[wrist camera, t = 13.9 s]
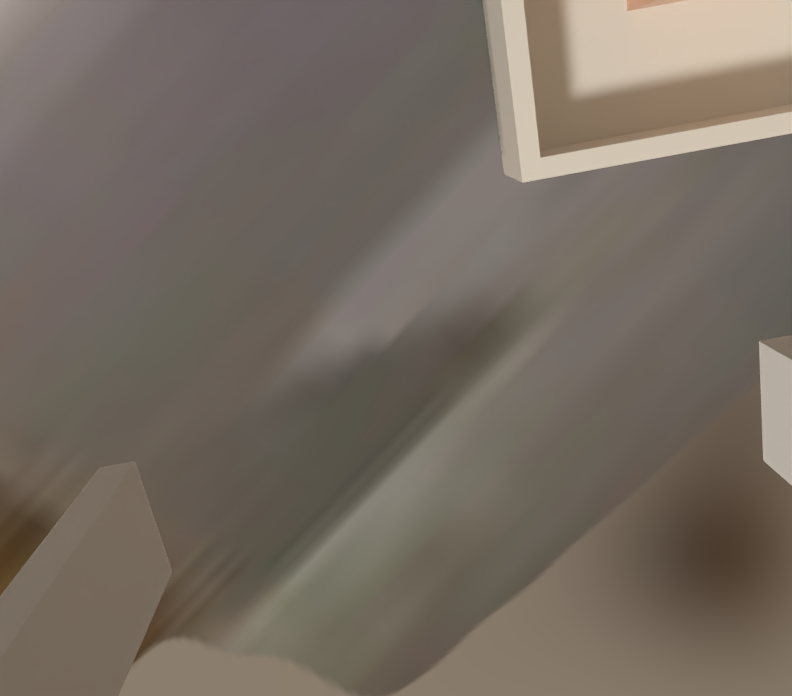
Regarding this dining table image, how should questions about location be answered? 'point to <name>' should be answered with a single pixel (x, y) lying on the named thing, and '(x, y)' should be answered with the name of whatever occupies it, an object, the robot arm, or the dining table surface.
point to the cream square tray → (634, 79)
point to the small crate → (647, 3)
